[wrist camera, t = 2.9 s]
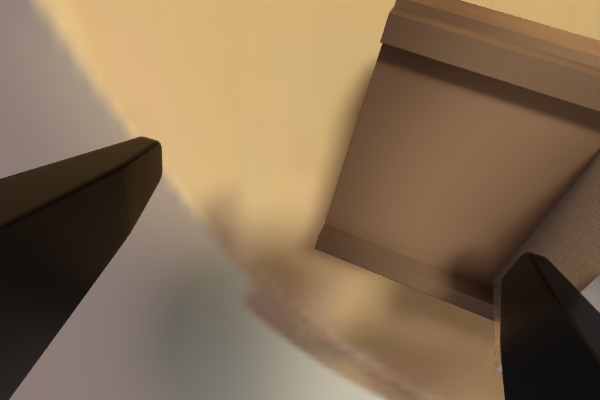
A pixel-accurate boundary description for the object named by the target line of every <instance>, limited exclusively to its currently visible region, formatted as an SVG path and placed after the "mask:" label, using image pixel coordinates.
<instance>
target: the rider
mask: <svg viewBox="0 0 600 400" xmlns="http://www.w3.org/2000/svg"><path fill="white" fill-rule="evenodd" d="M525 252H531V253H534V254H537V255H541V256H544V257H546V258H547V259H548V260H549V261H550V262H551V263H552V264H553V265H554V266H555V267H556V268H557V269H558V270H559V271H560V272H561V273H562V274H563V275H564V276H565V277H566V278H567V279H568V280H569V281H570V282H571V284H572V285H573V286H574V287H575V288H576V289H577V290H578V291H579V292H580V293H581V294H582V295H583V296H584V297H585V298H586V299H587V300H588V301H589V302H590V303H591V304H592V305H593V306H594V307H595V308H596V310H597V311H598V312H599V313H600V151H599V152H598V154H597V155H596V156H595V157H594V159H593V160H592V161H591V162H590V163H589V165H588V166H587V167H586V168H585V169H584V171H583V172H582V173H581V174H580V175H579V177H578V178H577V179H576V180H575V181H574V183H573V184H572V185H571V186H570V187H569V189H568V190H567V191H566V192H565V194H564V195H563V196H562V197H561V198H560V200H559V201H558V202H557V203H556V204H555V206H554V207H553V208H552V209H551V210H550V212H549V213H548V214H547V215H546V216H545V218H544V219H543V220H542V221H541V222H540V224H539V225H538V226H537V227H536V229H535V230H534V231H533V232H532V233H531V235H530V236H529V237H528V238H527V239H526V241H525V242H524V243H523V244H522V245H521V247H520V248H519V249H518V250H517V251H516V253H515V254H514V255H513V256H512V257H511V259H510V260H509V261H508V262H507V264H506V265H505V266H504V267H503V268H502V270H501V271H500V272H499V273H498V274H497V276H496V277H495V278H494V279H493V303H494V336H495V369H496V370H497V371H499V372H502V364H501V353H500V311H501V282H502V279H503V277H504V275H505V273H506V272H507V271H508V270H509V269H510V267H511V266H512V265H513V264H514V263H515V261H516V260H517V259H518V258H519V257H520V256H521V255H522V254H523V253H525Z"/></svg>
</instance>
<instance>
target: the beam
mask: <svg viewBox="0 0 600 400" xmlns="http://www.w3.org/2000/svg"><path fill="white" fill-rule="evenodd" d="M380 42H381V43H382V46H381V50H380V53H379V56H378V59H377V62H376V65H375V68H374V71H373V75H372V78H371V81H370V84H369V87H368V90H367V93H366V96H365V99H364V103H363V106H362V109H361V112H360V115H359V118H358V121H357V124H356V128H355V131H354V134H353V137H352V140H351V143H350V146H349V149H348V153H347V156H346V159H345V162H344V165H343V168H342V171H341V174H340V177H339V181H338V184H337V187H336V190H335V193H334V196H333V199H332V202H331V206H330V209H329V212H328V215H327V218H326V221H325V224H324V226H323V228H322V230H321V232H320V235H319V237H318V240H317V243H316V247H315V249H317V250H320V251H322V252H325V253H327V254H330V255H332V256H335V257H337V258H340V259H342V260H345V261H347V262H350V263H352V264H354V265H357V266H359V267H362V268H364V269H367V270H369V271H372V272H374V273H377V274H379V275H382V276H384V277H387V278H389V279H392V280H394V281H396V282H399V283H401V284H404V285H406V286H409V287H411V288H414V289H416V290H419V291H421V292H424V293H426V294H429V295H431V296H434V297H436V298H439V299H441V300H443V301H446V302H448V303H451V304H453V305H456V306H458V307H461V308H463V309H466V310H468V311H471V312H473V313H476V314H478V315H481V316H483V317H486V318H488V319H490V320H493V321H494V303H493V279H494V278H495V277H496V276H497V274H498V273H499V272H500V271H501V270H502V268H503V267H504V266H505V265H506V264H507V262H508V261H509V260H510V259H511V257H512V256H513V255H514V254H515V253H516V251H517V250H518V249H519V248H520V247H521V245H522V244H523V243H524V242H525V241H526V239H527V238H528V237H529V236H530V235H531V233H532V232H533V231H534V230H535V229H536V227H537V226H538V225H539V224H540V222H541V221H542V220H543V219H544V218H545V216H546V215H547V214H548V213H549V212H550V210H551V209H552V208H553V207H554V206H555V204H556V203H557V202H558V201H559V200H560V198H561V197H562V196H563V195H564V194H565V192H566V191H567V190H568V189H569V187H570V186H571V185H572V184H573V183H574V181H575V180H576V179H577V178H578V177H579V175H580V174H581V173H582V172H583V171H584V169H585V168H586V167H587V166H588V165H589V163H590V162H591V161H592V160H593V159H594V157H595V156H596V155H597V154H598V152H599V151H600V41H598V40H595V39H591V38H588V37H584V36H581V35H578V34H574V33H571V32H567V31H564V30H560V29H557V28H553V27H550V26H547V25H543V24H540V23H536V22H533V21H529V20H526V19H523V18H519V17H516V16H512V15H509V14H505V13H502V12H499V11H495V10H492V9H488V8H485V7H481V6H478V5H475V4H471V3H468V2H464V1H461V0H396V3H395V6H394V8H393V9H392V10H391V11H390V13H389V16H388V19H387V22H386V25H385V28H384V32H383V35H382V38H381V41H380Z"/></svg>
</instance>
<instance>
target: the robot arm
mask: <svg viewBox="0 0 600 400" xmlns="http://www.w3.org/2000/svg"><path fill="white" fill-rule="evenodd" d="M161 176H162V147H161V143H160V142H159V141H157V140H154V139H150V138H147V137H138V138H134V139H131V140H128V141H124V142H121V143H118V144H115V145H111V146H108V147H105V148H101V149H98V150H95V151H91V152H88V153H85V154H81V155H78V156H75V157H71V158H68V159H65V160H61V161H58V162H55V163H51V164H48V165H45V166H41V167H38V168H35V169H31V170H28V171H25V172H21V173H18V174H15V175H12V176H8V177H5V178H2V179H0V400H9V399H10V398H11V396H12V395H13V394H14V392H15V391H16V389H17V388H18V387H19V385H20V384H21V383H22V381H23V380H24V379H25V377H26V376H27V374H28V373H29V372H30V370H31V369H32V367H33V366H34V365H35V363H36V362H37V360H38V359H39V358H40V357H41V355H42V354H43V352H44V351H45V349H46V348H47V347H48V346H49V344H50V343H51V342H52V340H53V339H54V337H55V336H56V335H57V333H58V332H59V331H60V329H61V328H62V326H63V325H64V324H65V322H66V321H67V320H68V318H69V317H70V315H71V314H72V313H73V311H74V310H75V309H76V307H77V306H78V304H79V303H80V302H81V300H82V299H83V298H84V296H85V295H86V293H87V292H88V291H89V289H90V288H91V287H92V285H93V284H94V282H95V281H96V280H97V278H98V277H99V276H100V274H101V273H102V272H103V270H104V269H105V267H106V266H107V265H108V263H109V262H110V260H111V259H112V258H113V257H114V255H115V254H116V252H117V251H118V249H119V248H120V247H121V246H122V244H123V243H124V241H125V240H126V239H127V237H128V236H129V234H130V233H131V231H132V229H133V228H134V226H135V224H136V223H137V221H138V219H139V217H140V215H141V214H142V212H143V210H144V208H145V207H146V205H147V203H148V201H149V199H150V198H151V196H152V194H153V192H154V190H155V189H156V187H157V185H158V183H159V181H160V179H161ZM500 353H501V364H502V374H503V384H504V394H505V400H600V313H599V312H598V311H597V310H596V308H595V307H594V306H593V305H592V304H591V303H590V302H589V301H588V300H587V299H586V298H585V297H584V296H583V295H582V294H581V293H580V292H579V291H578V290H577V289H576V288H575V287H574V286H573V285H572V284H571V282H570V281H569V280H568V279H567V278H566V277H565V276H564V275H563V274H562V273H561V272H560V271H559V270H558V269H557V268H556V267H555V266H554V265H553V264H552V263H551V262H550V261H549V260H548V259H547V258H546V257H544V256H541V255H537V254H534V253H531V252H525V253H523V254H522V255H521V256H520V257H519V258H518V259H517V260H516V261H515V263H514V264H513V265H512V266H511V267H510V269H509V270H508V271H507V272H506V273H505V275H504V277H503V279H502V282H501V311H500Z"/></svg>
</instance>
